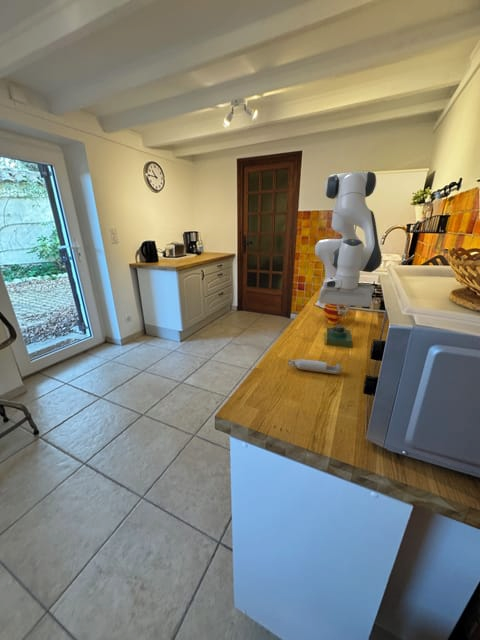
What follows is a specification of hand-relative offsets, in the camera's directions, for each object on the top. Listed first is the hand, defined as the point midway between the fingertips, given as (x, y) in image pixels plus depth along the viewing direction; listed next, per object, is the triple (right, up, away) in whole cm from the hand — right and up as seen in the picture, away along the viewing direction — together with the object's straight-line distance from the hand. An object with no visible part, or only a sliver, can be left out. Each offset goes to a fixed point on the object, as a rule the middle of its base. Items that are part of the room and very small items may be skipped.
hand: (341, 314), depth 106 cm
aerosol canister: (-19, -21, -26) cm, 39 cm away
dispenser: (0, -11, +5) cm, 12 cm away
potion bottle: (+5, -4, +24) cm, 25 cm away
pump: (0, -7, +3) cm, 8 cm away
